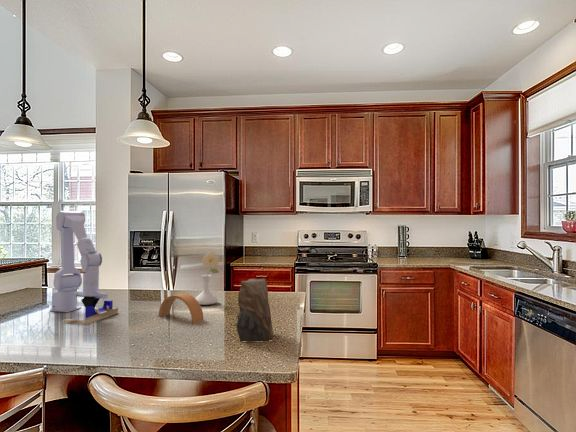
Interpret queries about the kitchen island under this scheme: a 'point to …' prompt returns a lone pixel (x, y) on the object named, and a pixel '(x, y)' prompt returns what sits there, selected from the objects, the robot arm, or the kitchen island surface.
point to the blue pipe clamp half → (91, 309)
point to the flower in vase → (206, 295)
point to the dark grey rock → (254, 311)
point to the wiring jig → (94, 316)
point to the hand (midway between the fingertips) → (90, 315)
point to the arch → (188, 300)
